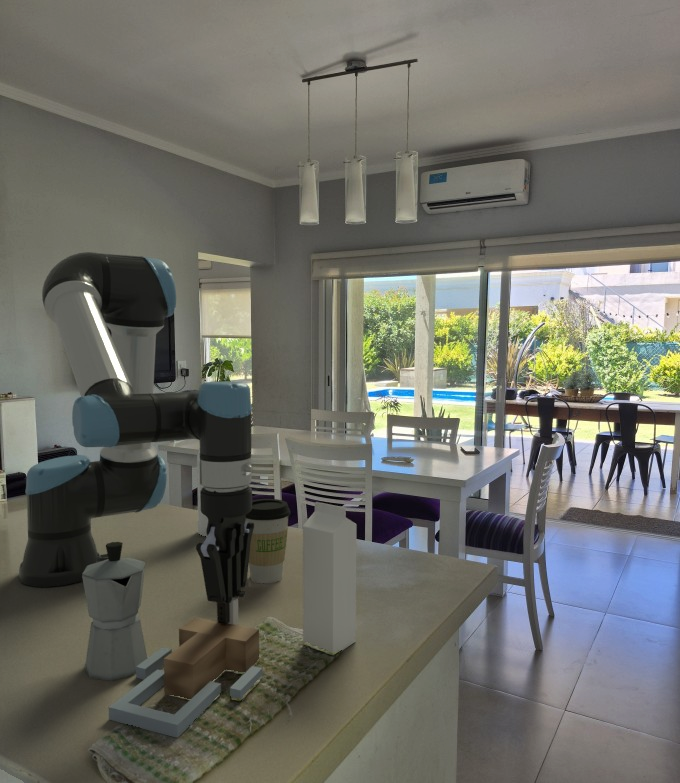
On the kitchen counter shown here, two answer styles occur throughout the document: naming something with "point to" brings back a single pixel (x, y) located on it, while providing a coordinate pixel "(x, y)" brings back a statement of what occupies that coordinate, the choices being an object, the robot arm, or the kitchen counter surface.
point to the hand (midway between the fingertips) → (228, 640)
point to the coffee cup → (268, 539)
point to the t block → (208, 655)
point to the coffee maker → (114, 615)
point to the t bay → (153, 680)
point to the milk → (329, 578)
